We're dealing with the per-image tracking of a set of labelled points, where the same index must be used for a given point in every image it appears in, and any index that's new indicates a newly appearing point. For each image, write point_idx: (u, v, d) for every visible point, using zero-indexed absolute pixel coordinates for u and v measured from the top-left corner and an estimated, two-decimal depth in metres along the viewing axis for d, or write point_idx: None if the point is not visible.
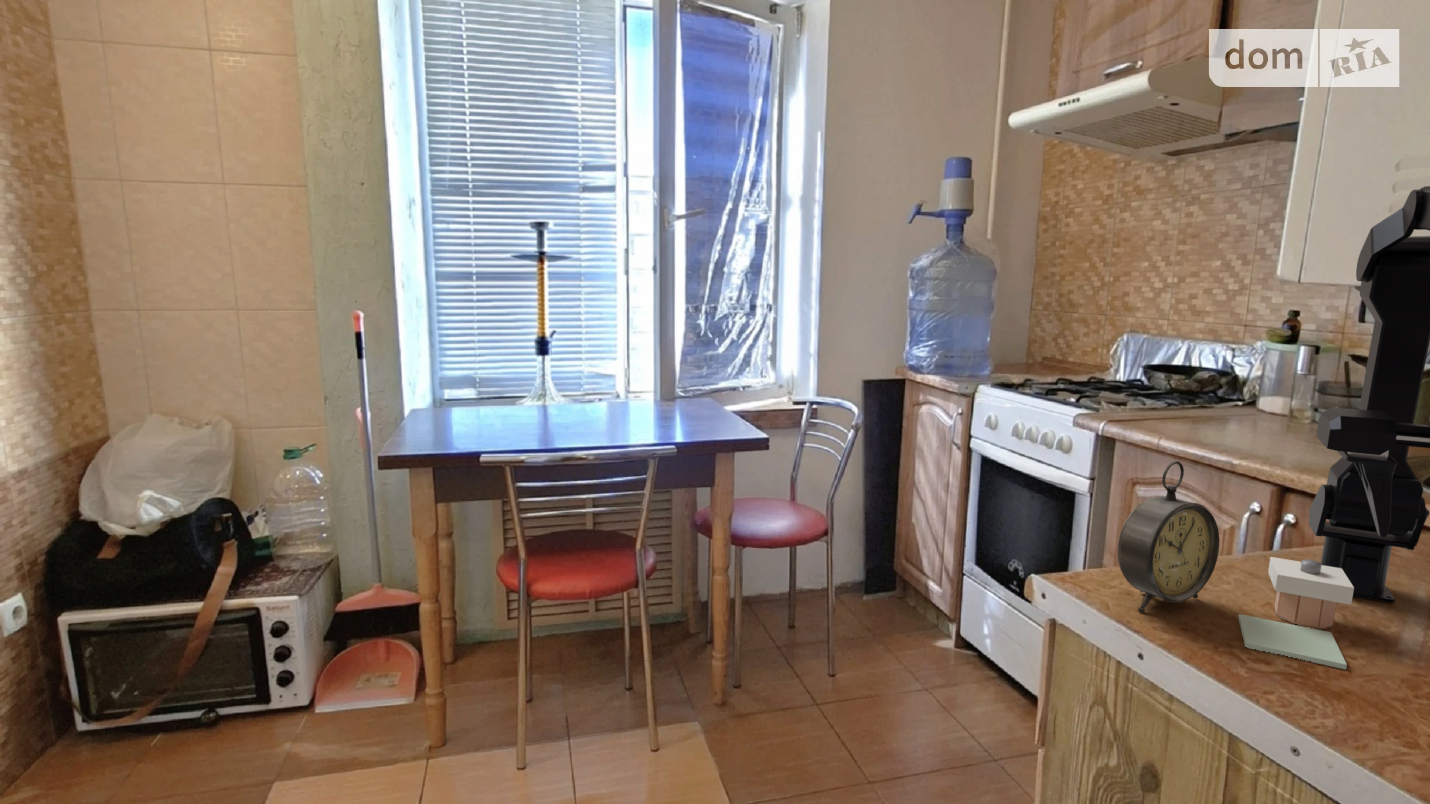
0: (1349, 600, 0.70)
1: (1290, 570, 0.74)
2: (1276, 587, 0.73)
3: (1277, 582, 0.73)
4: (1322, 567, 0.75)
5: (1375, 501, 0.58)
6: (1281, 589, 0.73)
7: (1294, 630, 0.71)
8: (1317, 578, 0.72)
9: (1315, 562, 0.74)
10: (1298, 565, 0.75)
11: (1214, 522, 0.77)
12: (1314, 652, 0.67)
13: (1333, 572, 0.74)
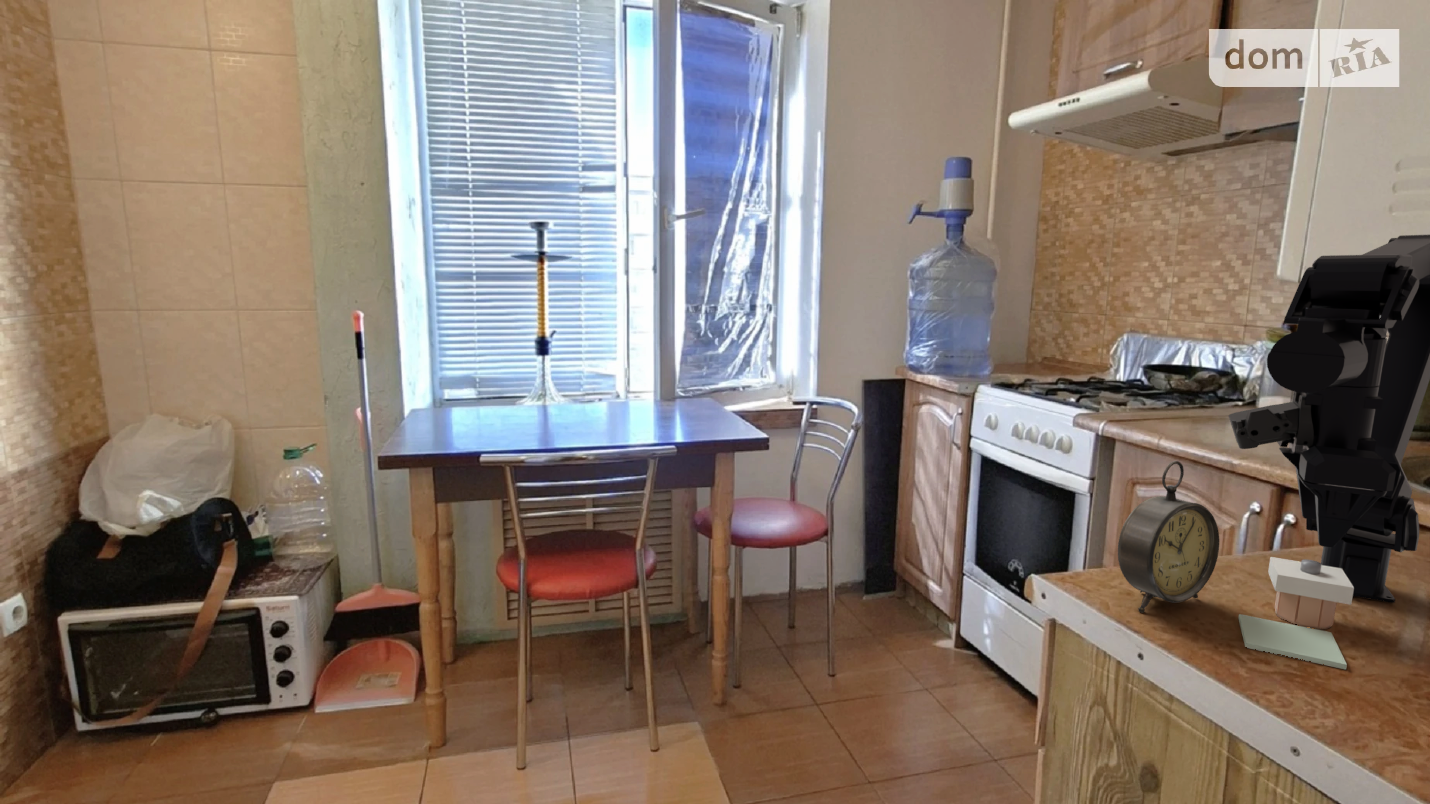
0: (1349, 600, 0.70)
1: (1290, 570, 0.74)
2: (1276, 587, 0.73)
3: (1277, 582, 0.73)
4: (1322, 567, 0.75)
5: (1299, 487, 0.78)
6: (1281, 589, 0.73)
7: (1294, 630, 0.71)
8: (1317, 578, 0.72)
9: (1315, 562, 0.74)
10: (1298, 565, 0.75)
11: (1214, 522, 0.77)
12: (1314, 652, 0.67)
13: (1333, 572, 0.74)
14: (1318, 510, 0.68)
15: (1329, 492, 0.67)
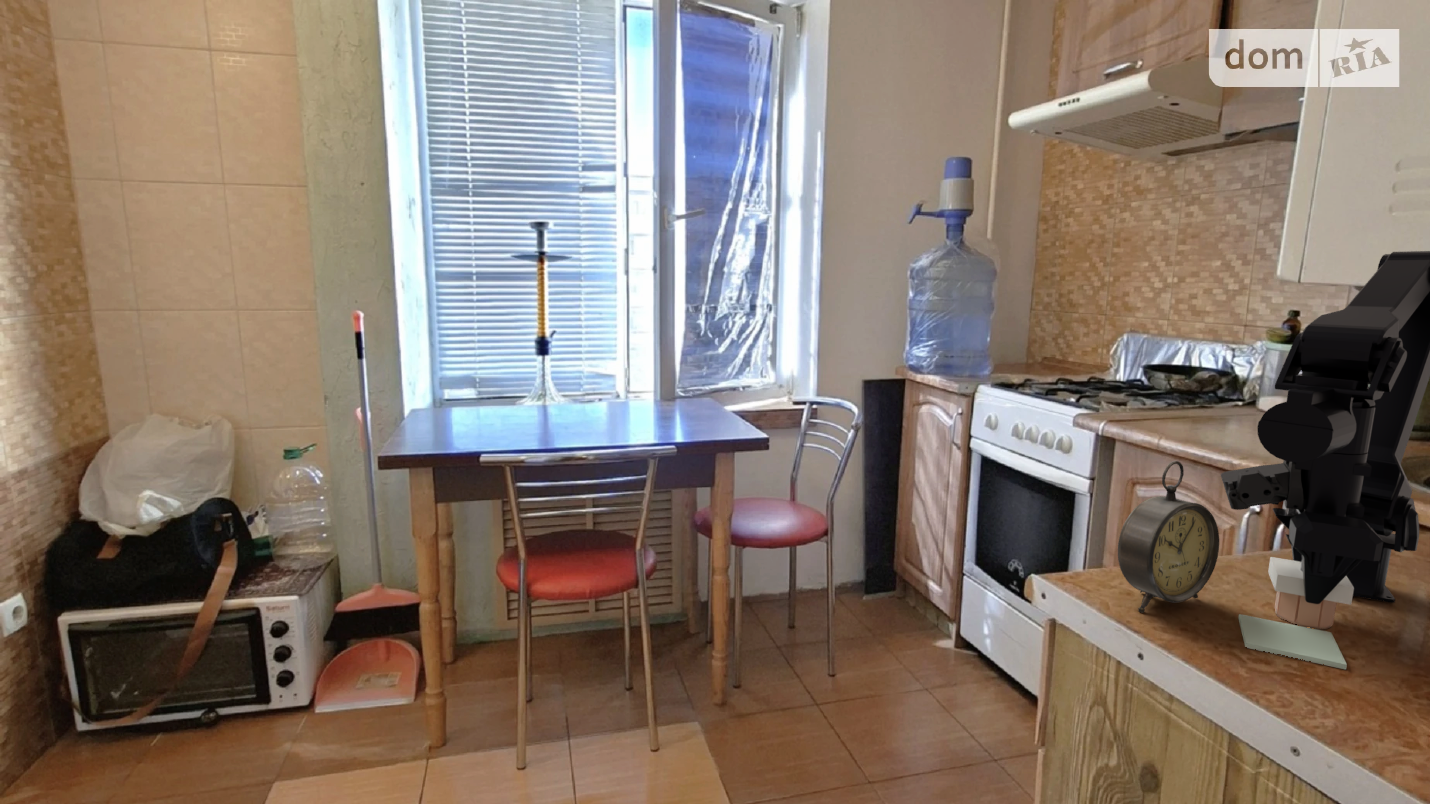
0: (1349, 600, 0.70)
1: (1290, 570, 0.74)
2: (1276, 587, 0.73)
3: (1277, 582, 0.73)
4: None
5: (1292, 550, 0.78)
6: (1281, 589, 0.73)
7: (1294, 630, 0.71)
8: None
9: None
10: (1298, 565, 0.75)
11: (1214, 522, 0.77)
12: (1314, 652, 0.67)
13: None
14: (1304, 568, 0.71)
15: (1315, 552, 0.70)
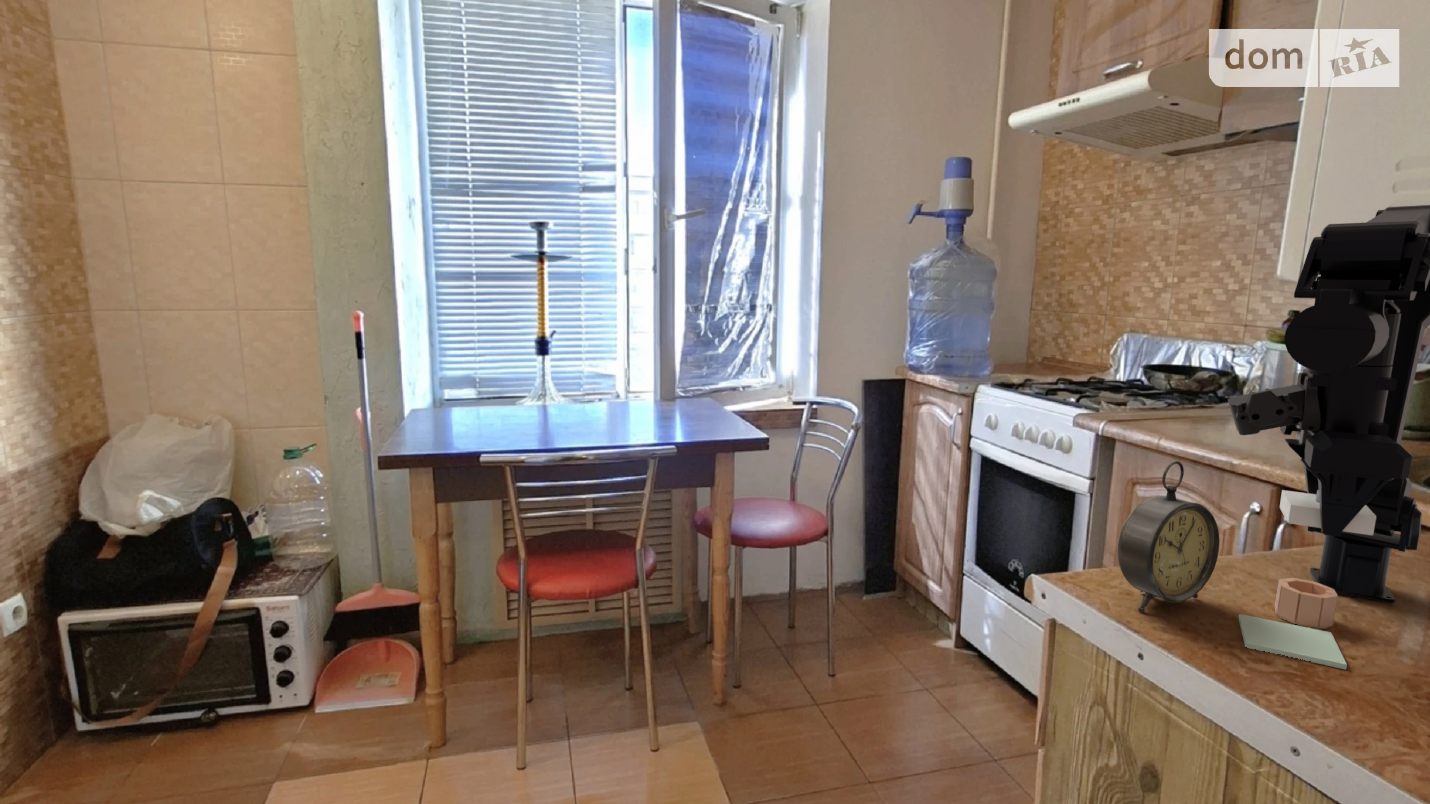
0: (1371, 530, 0.63)
1: (1305, 501, 0.67)
2: (1289, 519, 0.66)
3: (1290, 513, 0.66)
4: None
5: (1306, 482, 0.70)
6: (1295, 521, 0.66)
7: (1294, 630, 0.71)
8: None
9: None
10: (1313, 497, 0.68)
11: (1214, 522, 0.77)
12: (1314, 652, 0.67)
13: None
14: (1321, 496, 0.64)
15: (1333, 476, 0.63)
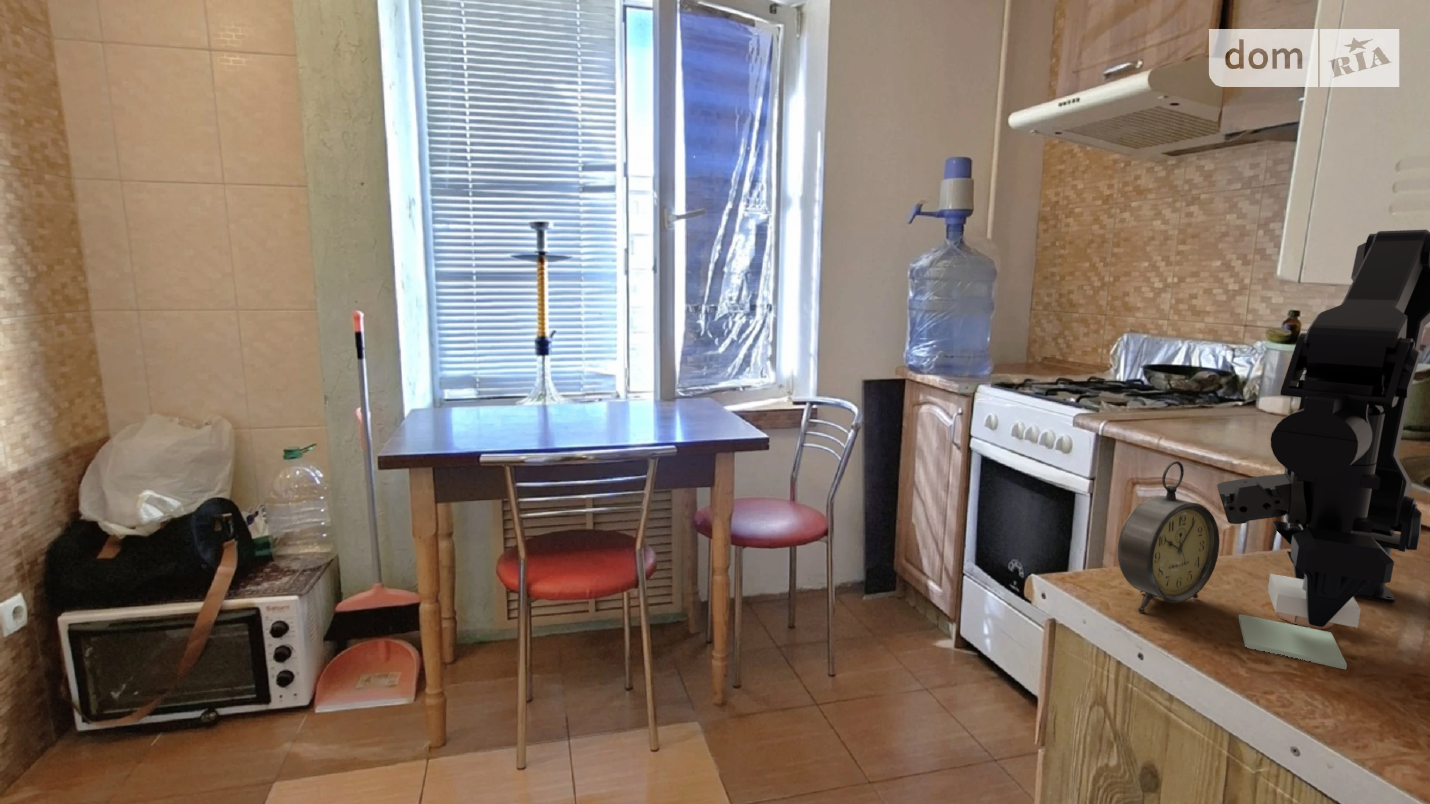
0: (1355, 622, 0.65)
1: (1292, 589, 0.69)
2: (1276, 607, 0.68)
3: (1277, 602, 0.68)
4: None
5: (1294, 566, 0.72)
6: (1282, 609, 0.68)
7: (1294, 630, 0.71)
8: None
9: None
10: (1300, 584, 0.70)
11: (1214, 522, 0.77)
12: (1314, 652, 0.67)
13: None
14: (1307, 589, 0.65)
15: None
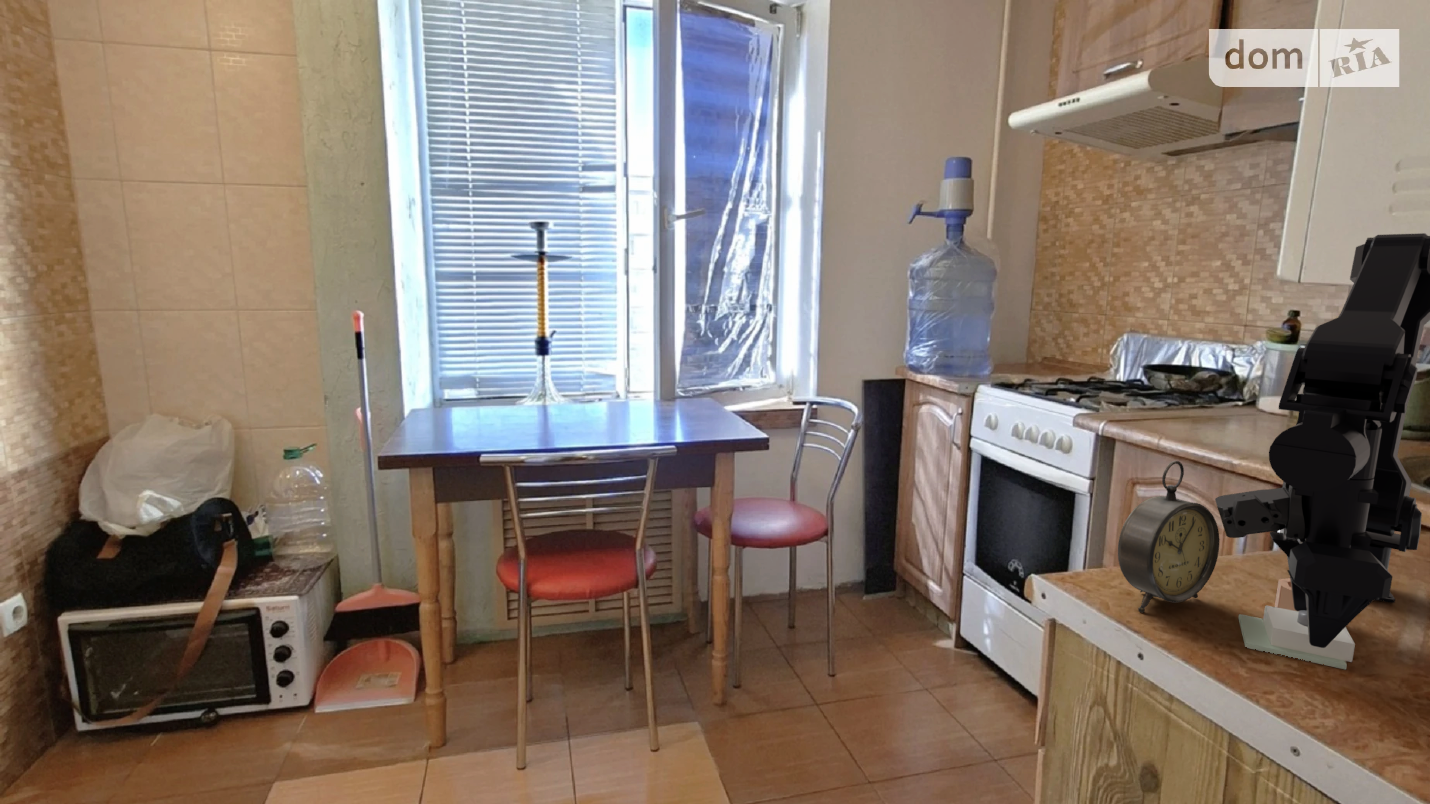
0: (1350, 657, 0.65)
1: (1287, 622, 0.69)
2: (1272, 641, 0.68)
3: (1273, 636, 0.68)
4: None
5: (1290, 576, 0.73)
6: (1277, 643, 0.68)
7: None
8: None
9: None
10: (1295, 616, 0.70)
11: (1214, 522, 0.77)
12: None
13: None
14: (1308, 609, 0.64)
15: (1320, 590, 0.63)
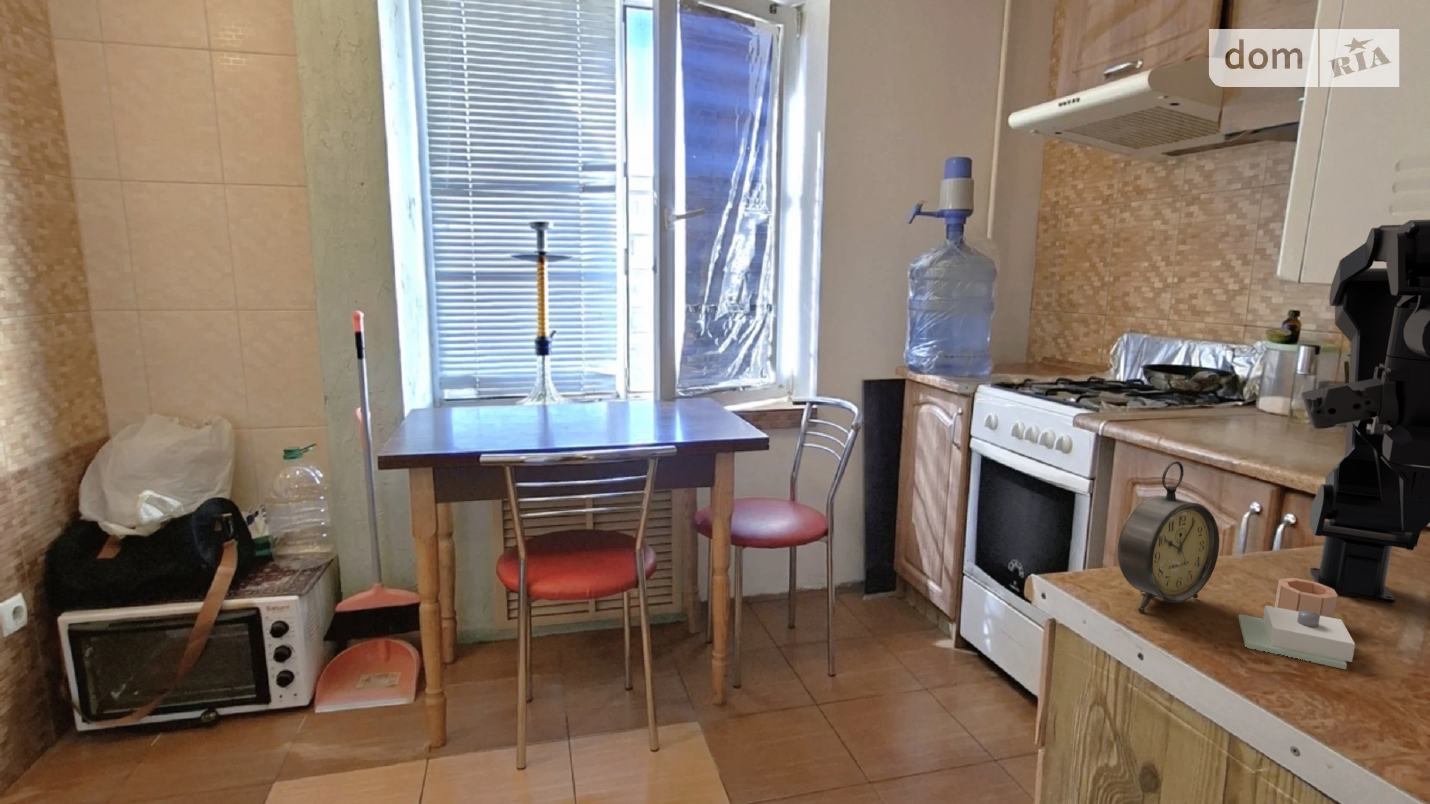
0: (1350, 657, 0.65)
1: (1287, 622, 0.69)
2: (1272, 641, 0.68)
3: (1273, 636, 0.68)
4: (1320, 618, 0.70)
5: (1377, 471, 0.73)
6: (1277, 643, 0.68)
7: None
8: (1315, 632, 0.67)
9: (1313, 614, 0.69)
10: (1295, 616, 0.70)
11: (1214, 522, 0.77)
12: None
13: (1333, 624, 0.69)
14: (1403, 493, 0.64)
15: (1416, 474, 0.63)
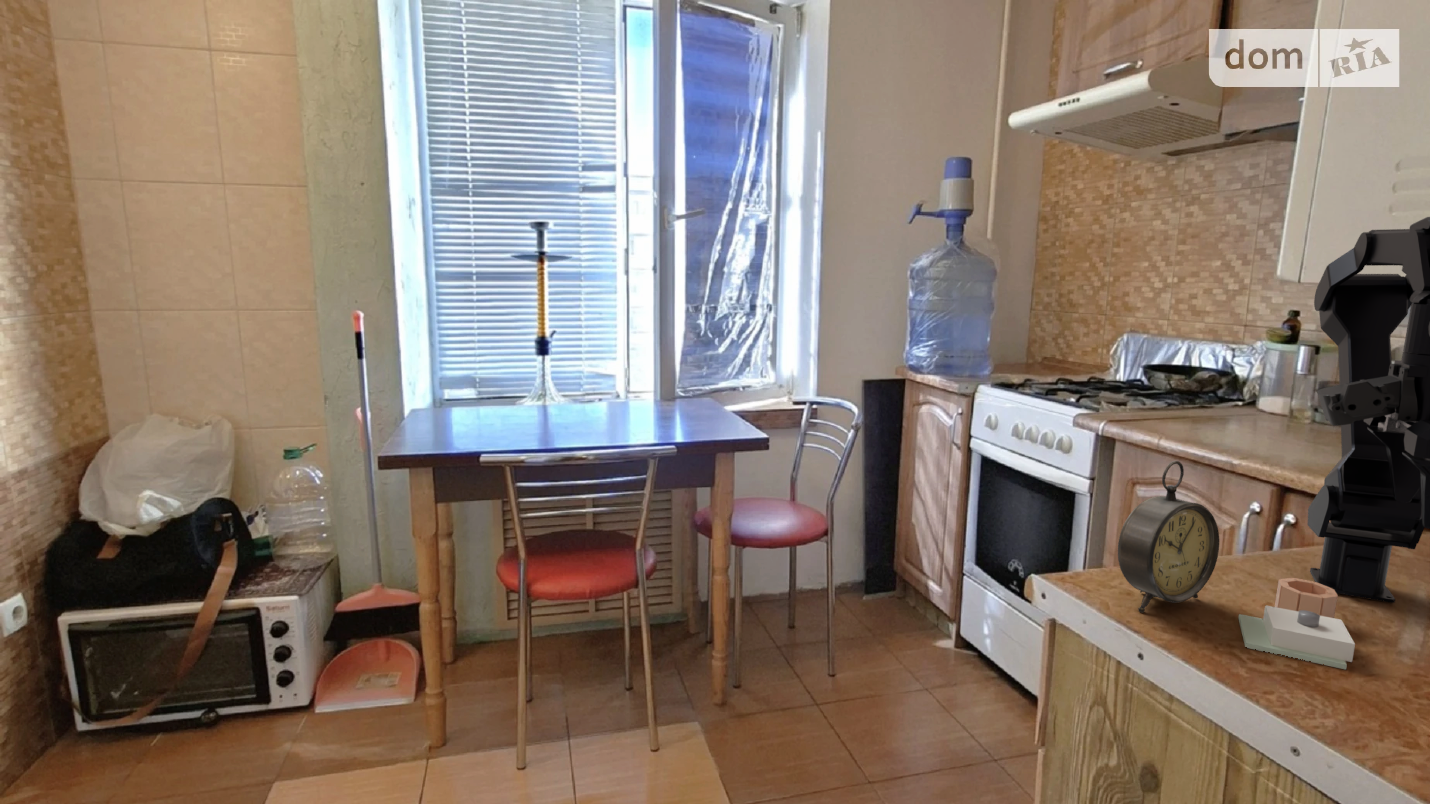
0: (1350, 657, 0.65)
1: (1287, 622, 0.69)
2: (1272, 641, 0.68)
3: (1273, 636, 0.68)
4: (1320, 618, 0.70)
5: (1390, 468, 0.73)
6: (1277, 643, 0.68)
7: None
8: (1315, 632, 0.67)
9: (1313, 614, 0.69)
10: (1295, 616, 0.70)
11: (1214, 522, 0.77)
12: None
13: (1333, 624, 0.69)
14: (1425, 489, 0.63)
15: None
